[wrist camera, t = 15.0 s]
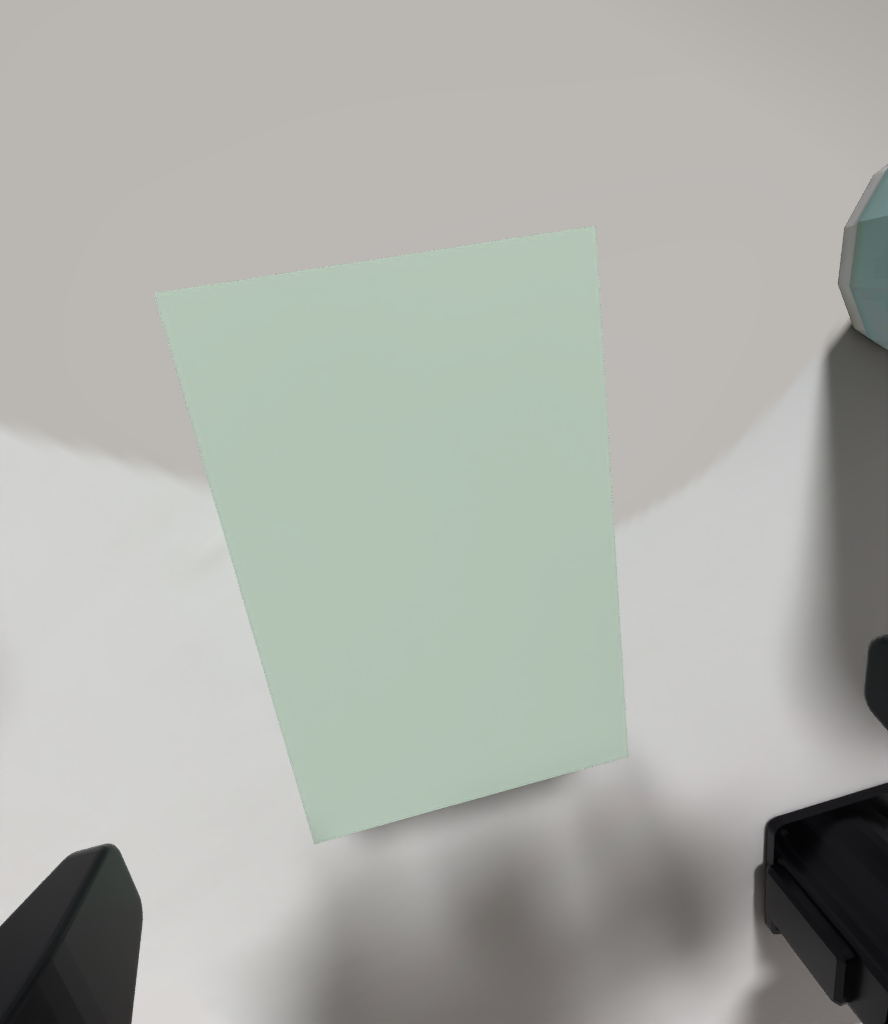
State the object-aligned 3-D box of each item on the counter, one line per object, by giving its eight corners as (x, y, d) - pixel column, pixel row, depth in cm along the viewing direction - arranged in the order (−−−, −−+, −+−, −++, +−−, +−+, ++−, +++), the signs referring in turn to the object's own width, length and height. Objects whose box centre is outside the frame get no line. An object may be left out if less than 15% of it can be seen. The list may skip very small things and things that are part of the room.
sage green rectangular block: (496, 251, 17) (595, 225, 11) (538, 628, 22) (627, 756, 15) (211, 295, 16) (153, 293, 10) (312, 683, 20) (314, 844, 14)
